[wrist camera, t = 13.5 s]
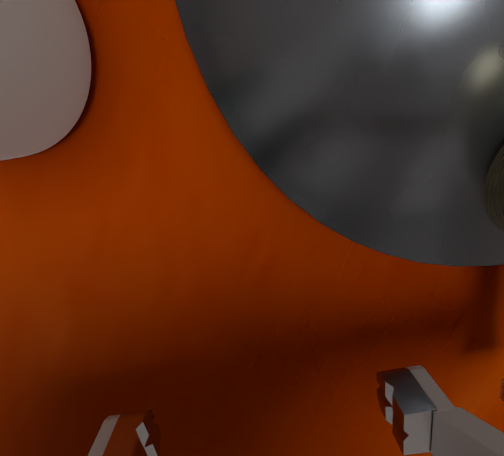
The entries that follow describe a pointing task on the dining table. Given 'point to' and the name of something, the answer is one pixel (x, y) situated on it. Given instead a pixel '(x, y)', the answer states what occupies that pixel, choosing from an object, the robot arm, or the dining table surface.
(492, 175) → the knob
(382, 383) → the robot arm
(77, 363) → the dining table surface
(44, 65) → the can
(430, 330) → the dining table surface
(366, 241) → the levelling plate
